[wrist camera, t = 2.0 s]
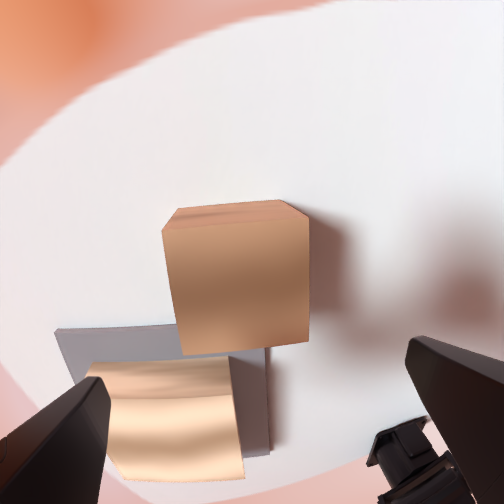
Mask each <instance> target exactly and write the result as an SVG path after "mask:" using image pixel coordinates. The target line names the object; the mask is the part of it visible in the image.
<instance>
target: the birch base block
mask: <svg viewBox="0 0 504 504" xmlns="http://www.w3.org/2000/svg"><path fill="white" fill-rule="evenodd" d="M87 376H99V377H101V378H102V379H103V381H104V384H105V386H106V389H107V391H108V393H109V396H110V398H111V412H110V422H109V433H108V444H107V451H106V453H107V454H108V456H109V458H110V459H111V461H112V462H113V464H114V465H115V467H116V468H117V470H118V471H119V473H120V474H121V476H122V477H123V479H124V480H132V481H148V482H210V481H226V480H238V479H245V473H244V466H243V458H242V451H241V443H240V437H239V430H238V424H237V417H236V410H235V403H234V396H233V389H232V382H231V375H230V367H229V360H228V356H220V357H209V358H196V359H182V360H164V361H138V362H92V364H91V366H90V368H89V370H88V372H87V374H86V376H85V378H86V377H87Z"/></svg>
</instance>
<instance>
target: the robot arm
mask: <svg viewBox="0 0 504 504" xmlns="http://www.w3.org/2000/svg"><path fill="white" fill-rule="evenodd" d="M405 366H406V369H407V371H408V373H409V375H410V377H411V379H412V381H413V383H414V386H415V388H416V390H417V392H418V394H419V397H420V399H421V401H422V403H423V405H424V406H425V408H426V410H427V412H428V413H429V415H430V417H431V419H432V420H433V422H434V424H435V425H436V427H437V429H438V431H439V432H440V434H441V436H442V438H443V439H444V441H445V443H446V444H447V446H448V448H449V450H450V452H451V453H450V452H449V451H448V450H447V451H446V452H445V453H444V454H443V455H442V456H440V457H439V456H438V455H437V454H436V452H435V451H434V449H433V448H432V444H431V443H430V442H429V440H428V439H427V437H426V436H425V434H424V433H423V432H422V430H423V428H424V426H425V424H426V421H427V419H426V418H425V417H422V418H420V419H417V420H414V421H412V422H409V423H407V424H404V425H401V426H398V427H395V428H393V429H390V430H387V431H384V432H381V433H379V434H377V435H376V437H375V440H374V443H373V446H372V449H371V452H370V454H369V457H368V460H367V463H366V465H367V467H370V466H374V465H377V464H379V465H380V467H381V469H382V471H383V473H384V475H385V477H386V479H387V481H388V483H389V485H390V486H391V488H392V489H391V490H390V491H388V492H387V493H385V494H381V495H380V496H378V500H379V501H378V502H377V503H378V504H476V502H475V500H474V498H475V499H476V501H477V504H504V362H503V361H500V360H497V359H493V358H490V357H487V356H484V355H481V354H478V353H475V352H471V351H468V350H465V349H462V348H459V347H456V346H453V345H450V344H447V343H444V342H441V341H438V340H435V339H432V338H429V337H426V336H417V337H414V338H412V339H410V341H409V344H408V349H407V353H406V358H405ZM110 412H111V398H110V396H109V393H108V391H107V389H106V386H105V384H104V381H103V379H102V378H101V377H99V376H87V377H86V378H84V379H83V380H82V381H80V382H79V383H77V384H76V385H75V386H73V387H72V388H71V389H69V390H68V391H67V392H65V393H64V394H63V395H61V396H60V397H58V398H57V399H56V400H54V401H53V402H52V403H50V404H49V405H48V406H46V407H45V408H43V409H42V410H41V411H39V412H38V413H37V414H35V415H34V416H33V417H31V418H30V419H29V420H27V421H26V422H24V423H23V424H22V425H20V426H19V427H18V428H16V429H15V430H14V431H12V432H11V433H9V434H8V435H7V437H4V438H2V439H1V440H0V504H97V503H98V496H99V490H100V484H101V478H102V473H103V467H104V462H105V457H106V451H107V444H108V433H109V422H110ZM451 467H452V468H451ZM471 494H473V495H474V498H473V497H472V495H471Z"/></svg>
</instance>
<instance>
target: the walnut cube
mask: <svg viewBox="0 0 504 504" xmlns="http://www.w3.org/2000/svg"><path fill="white" fill-rule="evenodd" d="M162 237H163V245H164V252H165V258H166V265H167V271H168V278H169V284H170V290H171V295H172V301H173V307H174V312H175V317H176V323H177V328H178V333H179V338H180V342H181V347H182V352H183V356H185V355H198V354H211V353H222V352H232V351H241V350H250V349H258V348H266V347H274V346H281V345H288V344H295V343H302V342H308V341H309V287H310V257H309V217H308V216H306V215H304V214H303V213H301V212H299V211H298V210H296V209H294V208H293V207H291V206H290V205H288V204H286V203H285V202H283V201H281V200H266V201H253V202H240V203H229V204H217V205H207V206H197V207H187V208H178V209H177V210H176V212H175V213H174V214H173V216H172V217H171V218H170V220H169V221H168V222H167V224H166V225H165V227H164V228H163V229H162Z"/></svg>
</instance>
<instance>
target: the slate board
mask: <svg viewBox="0 0 504 504" xmlns="http://www.w3.org/2000/svg"><path fill="white" fill-rule="evenodd" d="M54 334H55V337H56V340H57V342H58V345H59V347H60V350H61V353H62V355H63V358H64V360H65V362H66V365H67V367H68V370H69V372H70V374H71V377H72V379H73V381H74V383H75V385H76V384H77V383H79V382H80V381H82V380H83V379H84V378H85V376H86V374H87V372H88V370H89V368H90V366H91V364H92V362H138V361H164V360H182V359H196V358H209V357H220V356H228V360H229V367H230V375H231V382H232V389H233V396H234V403H235V410H236V417H237V424H238V430H239V437H240V443H241V451H242V458H248V457H257V456H264V455H270V448H269V428H268V407H267V388H266V369H265V350H264V348H258V349H250V350H241V351H232V352H222V353H211V354H198V355H185V356H183V352H182V347H181V342H180V338H179V333H178V328H177V324H170V325H155V326H138V327H117V328H86V329H57V330H56V331H55V332H54Z"/></svg>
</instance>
